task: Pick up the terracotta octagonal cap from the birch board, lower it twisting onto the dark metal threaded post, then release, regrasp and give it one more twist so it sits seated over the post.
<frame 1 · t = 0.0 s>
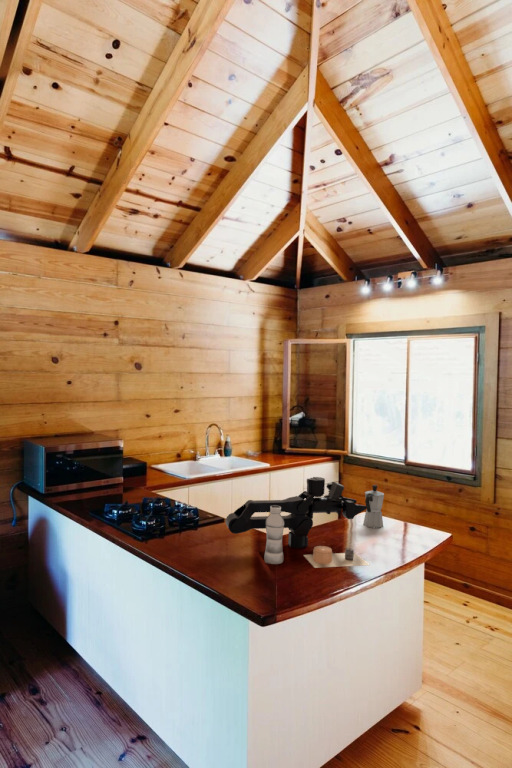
hand: (361, 504, 194), 17 cm above the countertop, tool horizontal, fingers open, 9 cm apart
coffee maker: (372, 526, 223), on the countertop
cap: (322, 560, 174), point 1 cm above the countertop, touching board
plastic bottle: (273, 565, 172), on the countertop
board: (335, 564, 175), on the countertop
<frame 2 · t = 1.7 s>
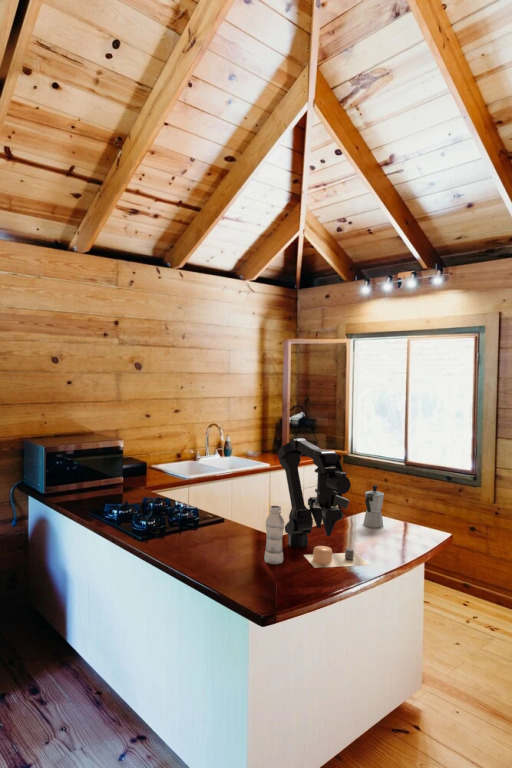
hand: (323, 532, 174), 11 cm above the countertop, tool pointing down, fingers open, 9 cm apart
nothing on the countertop moved.
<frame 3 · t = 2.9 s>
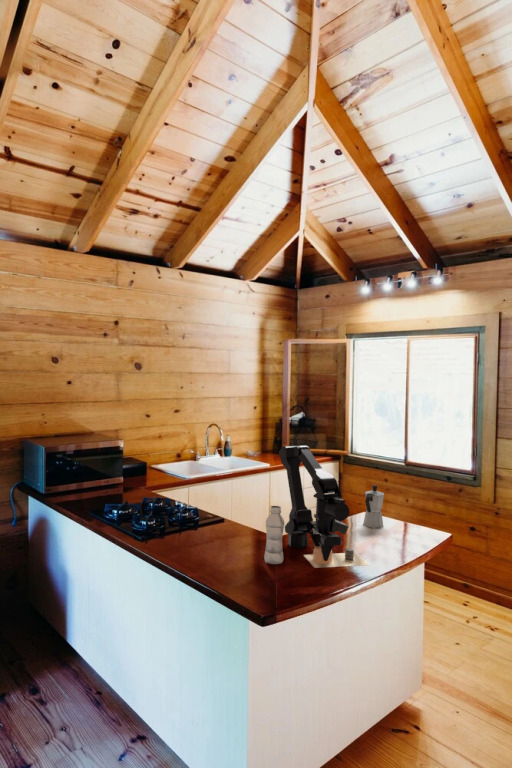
hand: (322, 557, 174), 3 cm above the countertop, tool pointing down, fingers closed on cap, 6 cm apart
cap: (322, 560, 174), point 2 cm above the countertop, touching board, gripper
everything else where it was.
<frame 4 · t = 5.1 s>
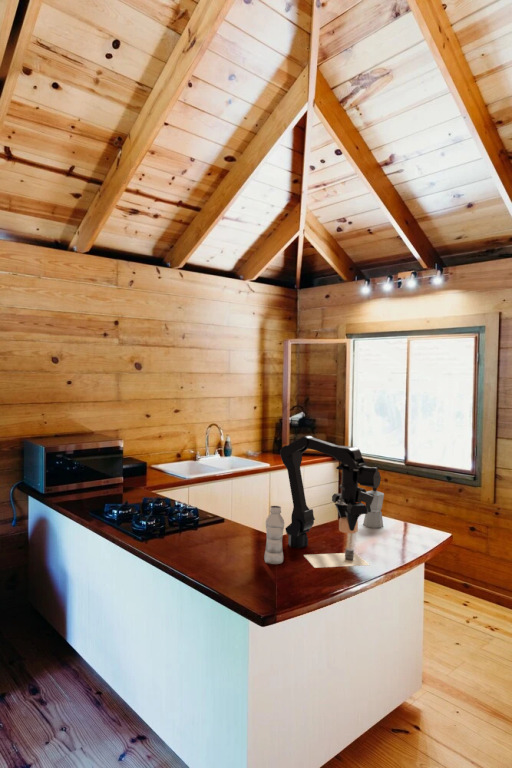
hand: (348, 527, 176), 13 cm above the countertop, tool pointing down, fingers closed on cap, 6 cm apart
cap: (348, 530, 176), point 12 cm above the countertop, touching gripper
everything else where it was.
when the fingers open (3 cm above the countertop, at t = 7.4 s): cap stays where it is, resting on board.
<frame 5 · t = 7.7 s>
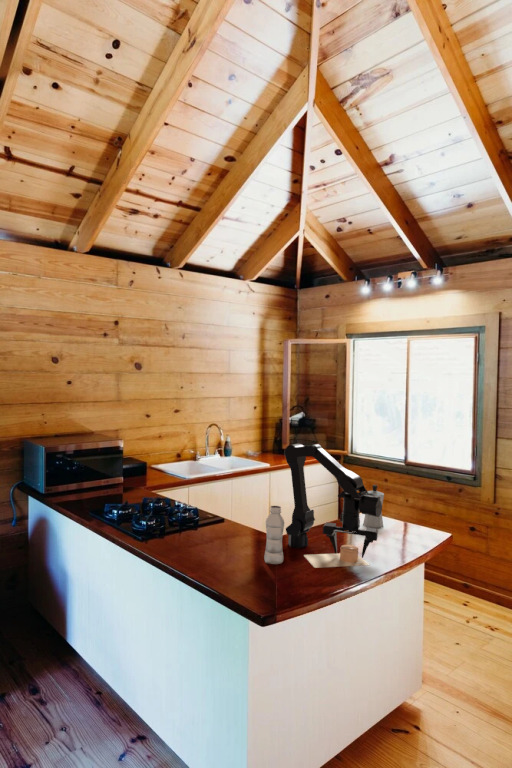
hand: (349, 555, 176), 3 cm above the countertop, tool pointing down, fingers open, 9 cm apart
cap: (348, 559, 176), point 1 cm above the countertop, touching board
everything else where it was.
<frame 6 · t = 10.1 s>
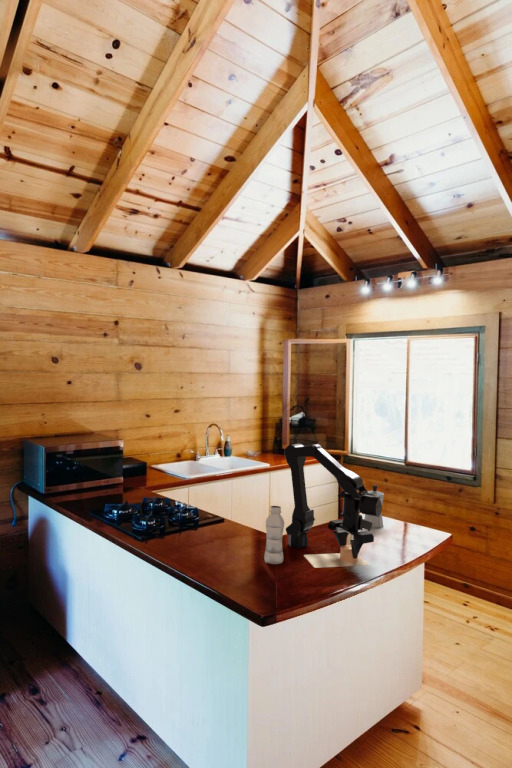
hand: (349, 555, 176), 3 cm above the countertop, tool pointing down, fingers closed on cap, 6 cm apart
cap: (349, 559, 176), point 2 cm above the countertop, touching board, gripper
everything else where it was.
when the fingers open (3 cm above the countertop, at t = 11.8 s): cap stays where it is, resting on board.
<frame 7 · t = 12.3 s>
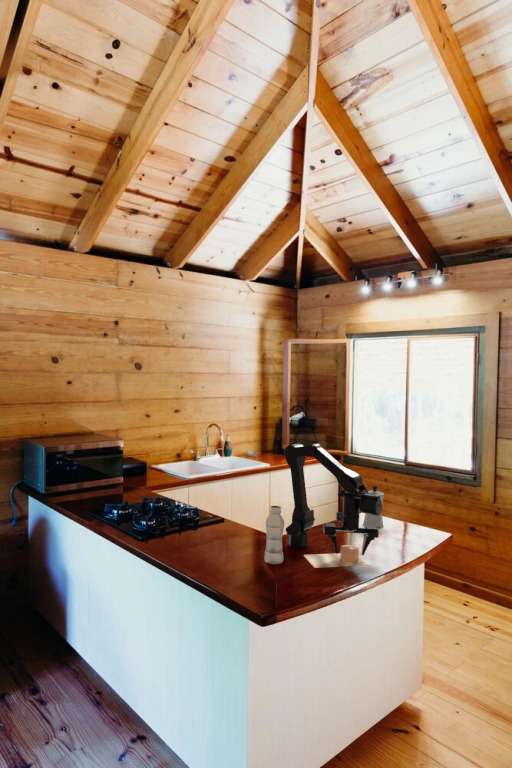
hand: (349, 554, 176), 3 cm above the countertop, tool pointing down, fingers open, 9 cm apart
cap: (349, 559, 176), point 1 cm above the countertop, touching board
everything else where it was.
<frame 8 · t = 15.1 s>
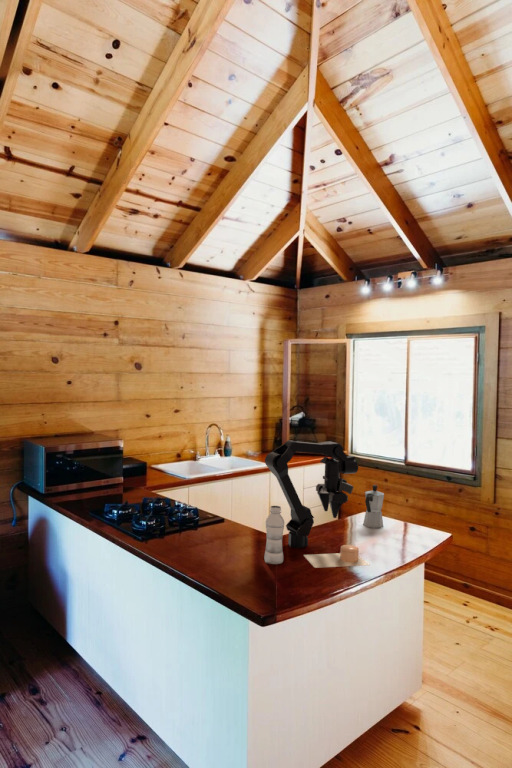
hand: (330, 514, 195), 12 cm above the countertop, tool pointing down, fingers open, 9 cm apart
nothing on the countertop moved.
at the end: cap 0.0 cm from the target spot on the board, point 1.5 cm above the board's base; cap tilted 0°; the gripper is holding nothing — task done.
